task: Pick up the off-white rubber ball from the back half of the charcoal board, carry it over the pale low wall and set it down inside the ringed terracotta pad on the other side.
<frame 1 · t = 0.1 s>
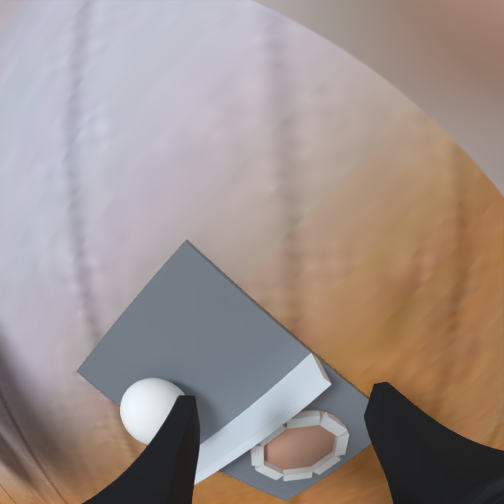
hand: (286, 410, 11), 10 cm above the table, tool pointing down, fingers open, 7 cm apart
ball: (155, 412, 19), point 3 cm above the table, touching board
board: (247, 407, 23), on the table
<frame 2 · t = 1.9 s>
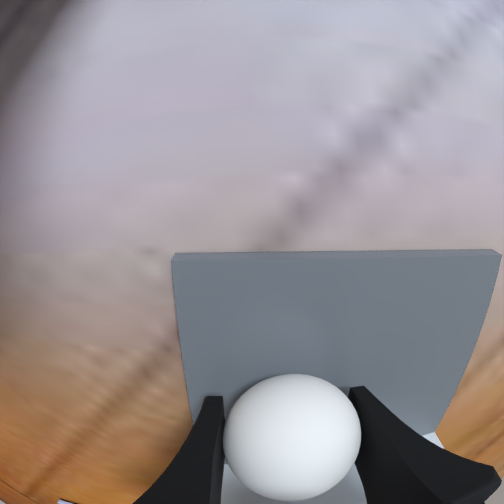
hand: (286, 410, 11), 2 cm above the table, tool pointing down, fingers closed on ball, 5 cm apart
ball: (292, 438, 10), point 3 cm above the table, touching board, gripper
board: (326, 449, 15), on the table
when the fingers open (3 cm above the table, at t = 5.6 s): ball moves 1 cm, resting on board.
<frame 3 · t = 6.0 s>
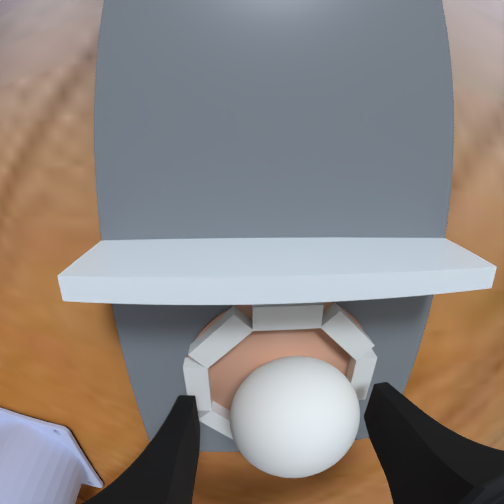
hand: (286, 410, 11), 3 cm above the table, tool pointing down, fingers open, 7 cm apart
ball: (295, 417, 11), point 3 cm above the table, tilted 7°, touching board
board: (284, 241, 12), on the table
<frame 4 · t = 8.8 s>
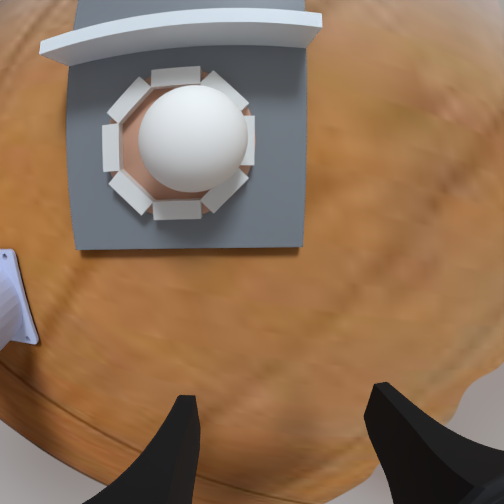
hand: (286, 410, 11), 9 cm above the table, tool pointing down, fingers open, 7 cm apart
ball: (192, 138, 13), point 3 cm above the table, tilted 29°, touching board
board: (181, 45, 15), on the table
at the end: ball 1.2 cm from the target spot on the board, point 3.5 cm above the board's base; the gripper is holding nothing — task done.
